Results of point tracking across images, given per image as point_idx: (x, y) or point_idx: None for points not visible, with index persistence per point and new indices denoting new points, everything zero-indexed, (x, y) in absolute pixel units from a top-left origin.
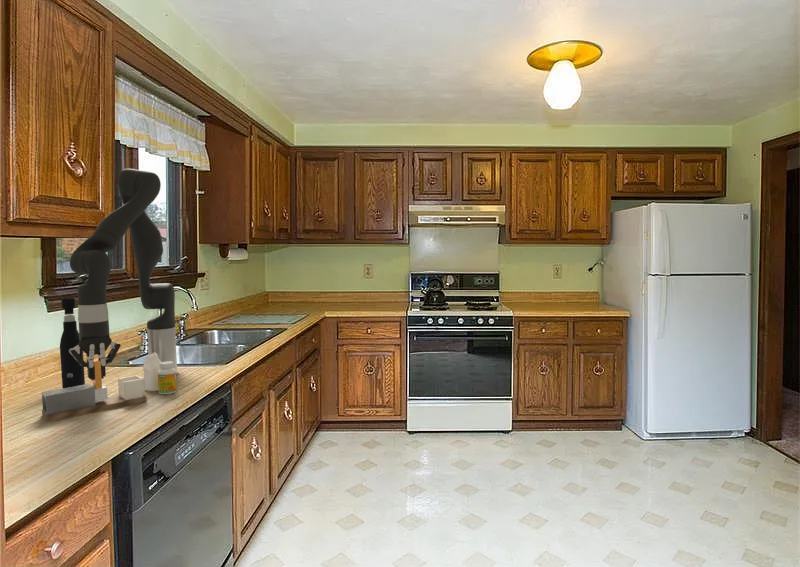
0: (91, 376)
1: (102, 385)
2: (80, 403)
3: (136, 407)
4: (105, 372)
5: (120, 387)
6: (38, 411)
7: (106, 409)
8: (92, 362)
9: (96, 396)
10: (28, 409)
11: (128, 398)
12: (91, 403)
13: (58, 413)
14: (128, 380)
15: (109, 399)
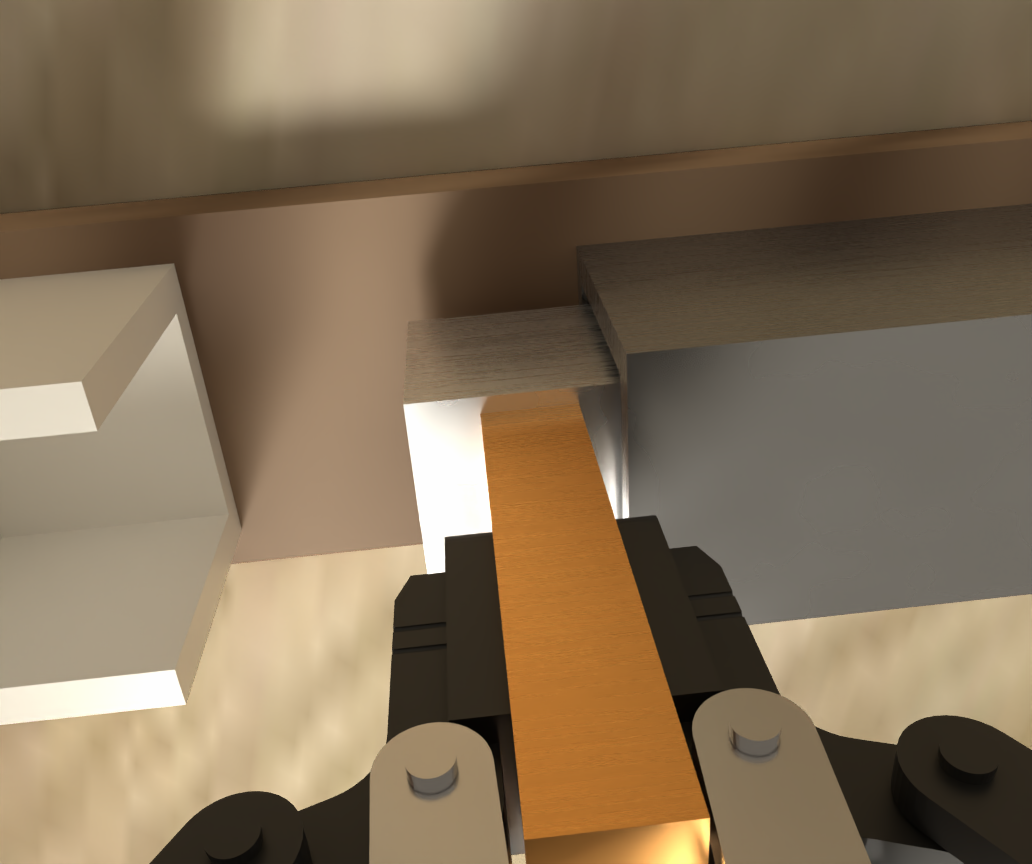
0: (678, 573)
1: (444, 571)
2: (785, 253)
3: (51, 5)
4: (396, 634)
5: (190, 577)
6: (1000, 609)
7: (447, 176)
8: (746, 812)
9: (564, 336)
10: (1028, 718)
11: (126, 271)
12: (634, 255)
13: (1023, 200)
14: (36, 649)
15: (368, 442)
